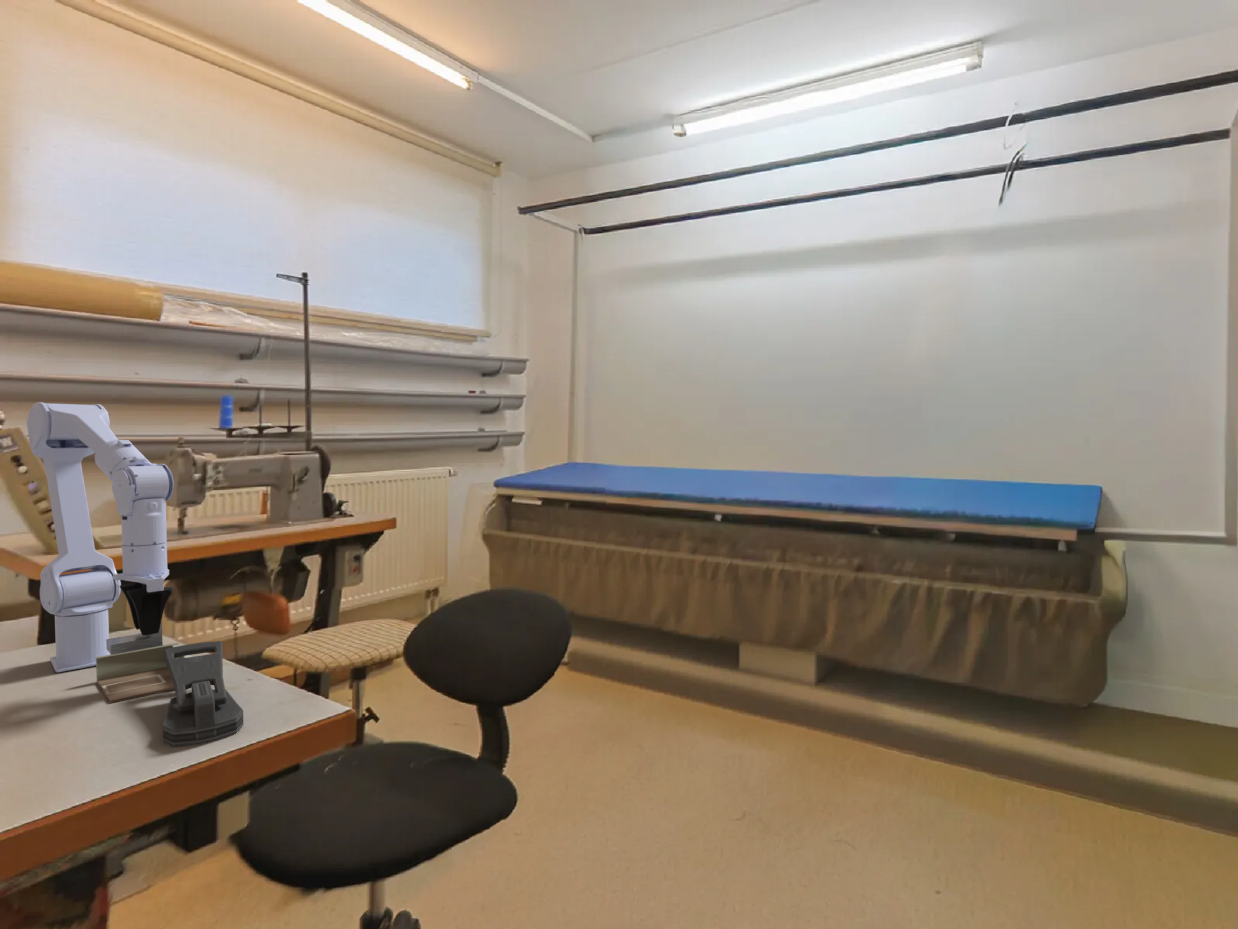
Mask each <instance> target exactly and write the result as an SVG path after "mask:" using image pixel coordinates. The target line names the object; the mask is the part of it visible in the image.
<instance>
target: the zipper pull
mask: <svg viewBox="0 0 1238 929" xmlns="http://www.w3.org/2000/svg"><path fill="white" fill-rule="evenodd" d="M206 653H207V654H206ZM200 654H201V655H200ZM202 654H203V655H202ZM163 655H164V658H165V661H166V664H167V667H168V670H169V673H170V676H171V679H172V682H173V685H174V688H175V697H172V698H170V701H169V705H168V709H167V712H166V716H165V717H164V718H165V719H164V721H163V724H162V742H163V743H164V744H166V745H169V746H171V747H172V748H177V747H187V746H196V745H202V744H207V743H212V742H215V741H220V740H222V739H224V738H227V737H231V736H234V734H235V735H237V734H238V733H239V732H240V731H241V729H242V728H243V727H244V726H243V725H244V710H243V708H242V707H241V706H240V705H239V703H238V702H237V701H236V700H235V699H234V698H233V696H232V695H231V694H230V693H229V692H228V691H227V689H226V686H225V681H224V674H223V673H224V670H223V668H224V667H223V666H224V665H223V663H224V661H223V657H224V651H223V641H218V640H217V641H206V642H205V641H204V642H196V643H188V644H183V645H180V646H177V647H172V648H168V649H165V650H164V651H163ZM187 655H192V656H193V655H194V656H193V657H188V658H181V659H174V658H177V657H182V656H187ZM195 655H197V656H195ZM212 686H213V687H214V689H212ZM190 689H191V692H188V693H187V691H188V690H190ZM242 726H243V727H242ZM237 732H238V733H237ZM236 733H237V734H236Z"/></svg>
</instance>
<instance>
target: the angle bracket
mask: <svg viewBox="0 0 1238 929" xmlns="http://www.w3.org/2000/svg"><path fill="white" fill-rule="evenodd" d="M106 645H107V650H108V652H109V653H110V654H111V655H113V654H119V653H124V652H130V651H135V650H141V649H146V648H152V647H157V646H162V645H164V644H163V622H162V621H161V625H160V629H159V632H158V633H156V634H150V635H144V636H143V635H142V634H141V632H140V633H137V634H135V633H134V634H129V635H123V636H118V637H113V638H109V639H106Z"/></svg>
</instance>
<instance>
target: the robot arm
mask: <svg viewBox="0 0 1238 929" xmlns="http://www.w3.org/2000/svg"><path fill="white" fill-rule="evenodd" d="M110 426H111V422H110V416H109V412H108V410H107V409H106V408H105V407H104V406H103V405H102V404H101V403H100V404H98V403H97V404H96V403H95V404H74V403H73V404H72V403H49V402H47V403H45V402H42V401H38V402H35V403H34V404H33V405H32V406H30V408H29V411H28V416H27V420H26V427H27V432H28V433H27V435H28V440H29V441H28V442H29V447H30V448H31V453H32V455H33V456H36V457H38V458H40V459H42V460H43V464H44V465H43V466H44V471H45V476H46V482H47V488H48V495H49V500H50V501H49V502H50V508H51V515H52V519H53V526H54V534H55V539H56V546H57V552H58V555H57V556H56V557H55V558H54V559H52V560H51V561H50V562H49V563H48V564H46V565H45V566H44V567H43V569H42V570H41V571H40V576H39V577H40V586H39V599H40V604H41V606H42V608H43V609H44V610H45V611H46V612H48V614H51V615H54V631H55V632H54V633H55V637H54V638H55V655H54V656H50V658H49V661H50V663H51V665H52V667H53V670H54V671H55V672H56V673H63V672H67V671H68V672H69V671H73V670H77V669H78V670H79V669H83V668H84V669H85V668H91V667H96V657H99V656H105V655H111V654H110V653H109V652H108V650H107V645H106V639H110V629H109V627H110V626H109V623H110V622H109V609H110V608H111V609H112V608H113V604H114V603H115V602H116V601H117V600H118V599H119V597H120V594H121V592H122V593H123V595H124V596H125V599H126V601H127V603H128V605H129V609H130V612H131V618H132V622H133V625H134V627H135V629H136V630H140V633H141V634H142V635H143V636H144V635H150V634H156V633H158V632H159V629H160V625H161V621H162V619H163V615H164V611H165V608H166V604H167V603H168V600H169V598H170V596H171V594H173V593H172V592H173V587H171V586H165V585H164V584H165V579H166V578H167V577H169V575H170V569H168V541H167V540H168V538H167V531H168V530H167V503H166V502H167V501H169V500H170V499H171V497H172V496H173V493H174V489H175V486H174V485H175V481H174V476H173V473H172V471H171V469H170V468H169V467H168V465H167V464H165V463H152V462H151V461H150V460H148V459H147V457H146V456H144V454H143V453H141V451H140V450H139V449H138V448H137V447H136V446H135V445H134V444H133V443H132V442H131V441H130V440H129V439H118V437H117V436H116V435H115V433H114V432H113V430H112V429H111V428H110ZM94 454H95V455H94ZM91 455H94V463H95V465H96V466H97V467H98V468H99V470H100V471H102V473H103V474H104V475H105V476H106V477H107V478H108V479H109V481H111V482H112V484H111V490H112V494H113V497H114V499H115V503H116V504H115V505H116V511H117V515H120V516H121V517H120V518H121V519H120V520H121V556H122V558H121V559H122V572H121V573H118V572H117V570H116V566H115V563H114V560H113V558H111V557H109V556H107V555H106V554H103V553H101V552H99V551H97V550H96V547H95V541H94V536H93V529H92V523H91V518H90V512H89V505H88V499H87V498H88V497H87V494H86V493H87V491H86V487H85V486H86V485H85V479H84V473H83V468H82V462H83V459H84V458H86V457H88V456H91ZM78 571H79V572H78ZM64 573H65V574H64ZM121 581H125V582H131V583H125V584H122V582H121Z"/></svg>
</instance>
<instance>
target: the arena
mask: <svg viewBox="0 0 1238 929" xmlns="http://www.w3.org/2000/svg"><path fill="white" fill-rule="evenodd" d="M177 646H181V645H180V643H178V642H174V643H169V644H165V645H164V644H163V645H162V646H157V647H152V648H146V649H141V650H135V651H130V652H124V653H119V654H113V655H105V656H99V657H96V666H95V667H96V668H95V670H96V683H97V684H98V686H99V688H100V690H101V691H102V693H103V695H104V696H105V698H106V699H107V701H108V702H109V704H114V703H119V702H122V701H123V702H124V701H128V700H133V699H136V698H142V697H146V696H151V695H157V694H160V693H166V692H169V691H174V690H175V688H174V685H173V682H172V679H171V676H170V673H169V670H168V667H167V664H166V661H165V658H164V655H163V651H164V650H165V649H168V648H172V647H177ZM188 657H194V656H193V655H187V656H182V657H177V658H174V659H181V658H188Z"/></svg>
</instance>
